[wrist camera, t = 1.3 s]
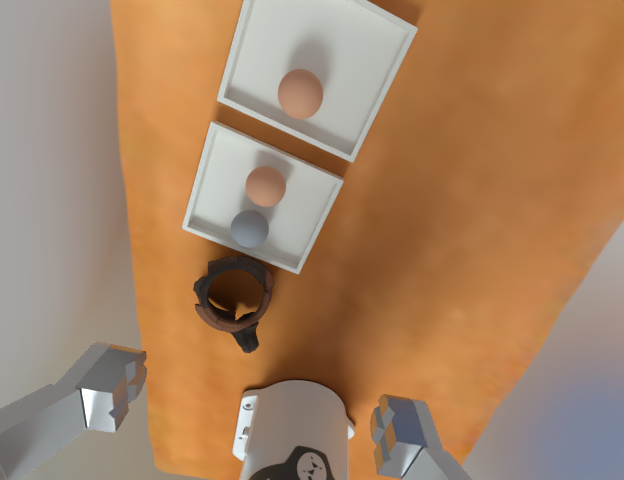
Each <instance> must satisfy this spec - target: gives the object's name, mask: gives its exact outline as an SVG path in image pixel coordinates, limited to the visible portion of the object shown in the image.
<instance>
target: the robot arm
mask: <svg viewBox="0 0 624 480" xmlns="http://www.w3.org/2000/svg"><path fill="white" fill-rule="evenodd" d="M146 359H147V357H146V351H141V350H136V349H132V348H127V347H122V346H118V345H113V344H107V343H102V342H96V343H94V344H93V345H91V346H90V348H89V349H88V350H87V351H86V352H85V353H84V354H83V355H82V356H81V357H80V359H78V361H77V362H76V363H75V364H74V365H73V366H72V367H71V368H70V369H69V370H68V372H67V373H66V374H65V375H64V376H63V377H62V378H61V379H60V380H59V381H58V382H57V383H56V384H55V385H52V384H49V385H47V386H45V387H44V388H41V389H39V390H37V391H35V392H33V393H31V394H29V395H27V396H25V397H23V398H21V399H19V400H17V401H15V402H13V403H11V404H9V405H7V406H5V407H3V408H1V409H0V480H20V479H22V478H23V477H24V476H25V475H27V474H28V473H30V472H31V471H32V470H34V469H35V468H37V467H38V466H39V465H41V464H42V463H43V462H45V461H46V460H47V459H49V458H50V457H51V456H53V455H54V454H55V453H57V452H58V451H59V450H61V449H62V448H63V447H65V446H66V445H67V444H69V443H70V442H71V441H73V440H74V439H75V438H77V437H78V436H79V435H81V434H82V433H83V432H85V431H86V429H92V430H100V431H108V432H116V431H117V429H118V428H119V426H120V425H121V422H122V421H123V420H124V418H125V416H126V415H127V413H128V403H130V402H131V401H133V400H134V399H136V398H137V396H138V395H139V393H140V391H141V390H142V387H143V385H144V382H145V379H146V374H147V368H146V367H145V366H144V364H143V363H144V362H145V360H146ZM378 401H379V406H378V407H376V408H374V410H373V413H372V415H371V422H370V431H371V438H372V439H373V441H374V442H375V444H376V445H377V447H376V448H375V450H374V457H375V464H376V470H377V474H379V475H384V476H389V477H394V478H400V479H402V480H472V479H471V478H470V476H469V475H468V474H467V473H466V472H465V471H464V469H463V468H462V467H461V466H460V465H459V464H458V462H457V461H456V460H455V459H454V458H453V457H452V456H451V454H450V453H449V452H448V451H444V450H443V447H442V444H441V442H440V439H439V436H438V433H437V430H436V428H435V425H434V422H433V419H432V416H431V414H430V411H429V408H428V405H427V404H426V402H425V401H420V400H414V399H409V398H405V397H399V396H393V395H387V394H383V395H381V397H380V398H379V400H378ZM354 432H355V427H354V425H353V423H352V422H351V421H350V420H349V419H348V417H347V415H346V411H345V406H344V404H343V402H342V400H341V399H340V398H339V396H338V395H337V394H336V393H334V392H333V391H332V390H330V389H329V388H327V387H325V386H323V385H320V384H317V383H314V382H310V381H303V380H290V381H283V382H279V383H276V384H273V385H271V386H269V387H267V388H264V389H256V390H249V391H245V392H244V393H243V395H242V399H241V405H240V411H239V416H238V422H237V428H236V433H235V439H234V445H233V454H234V455H235V456H236V457H237V458H239V459H240V460H242V461H243V464H242V468H241V473H240V477H239V480H348V468H349V454H348V440H349V439H350V438H351V437H352V436H353V435H354Z"/></svg>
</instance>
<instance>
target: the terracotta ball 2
mask: <svg viewBox="0 0 624 480" xmlns="http://www.w3.org/2000/svg"><path fill="white" fill-rule="evenodd" d="M278 100H279V103H280V106H281V108H282V109H283V111H284V112H285V113H286V114H287V115H289V116H290V117H292V118H295V119H307V118H309V117H311V116H313V115H314V114H315V113H316V112H317V111H318V110H319V108H320V106H321V104H322V100H323V89H322V85H321V83H320V81H319V79H318V78H317V77H316V76H315V75H314V74H313V73H312V72H310V71H308V70H305V69H296V70H292V71H290V72H289V73H287V74H286V75H285V76H284V77H283V78H282V80H281V82H280V84H279V88H278Z"/></svg>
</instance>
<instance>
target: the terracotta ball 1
mask: <svg viewBox="0 0 624 480" xmlns="http://www.w3.org/2000/svg"><path fill="white" fill-rule="evenodd" d="M285 191H286V183H285V179H284V177H283V176H282V174H281V173H280V172H279V171H278V170H276V169H275V168H272V167H269V166H261V167H258V168H256V169H254V170H253V171H252V172H251V173H250V174H249V175H248V177H247V180H246V192H247V195H248V197H249V198H250V199H251V200H252V201H253V202H254V203H255V204H257V205H259V206H263V207H269V206H273V205H275V204H277V203H279V202H280V201H281V200H282V198H283V197H284V195H285Z"/></svg>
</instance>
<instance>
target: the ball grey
mask: <svg viewBox="0 0 624 480" xmlns="http://www.w3.org/2000/svg"><path fill="white" fill-rule="evenodd" d="M268 233H269V225H268V222H267V220H266V218H265V217H264V216H263V215H262V214H261V213H259V212H257V211H253V210H246V211H242V212H240V213H239V214H237V215H236V216H235V217H234V219H233V221H232V223H231V234H232V237H233V239H234V240H235V241H236V242H237V243H238V244H239V245H241V246H243V247H247V248H253V247H257V246H259V245H261V244H262V243H263V242H264V241H265V240H266V238H267V236H268Z"/></svg>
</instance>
